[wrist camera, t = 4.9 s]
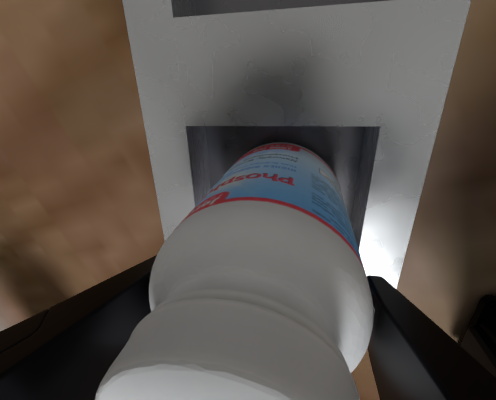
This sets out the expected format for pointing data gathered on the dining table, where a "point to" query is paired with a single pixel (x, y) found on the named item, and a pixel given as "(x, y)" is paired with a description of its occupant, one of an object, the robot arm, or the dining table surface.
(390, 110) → the white compartment tray
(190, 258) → the pill bottle
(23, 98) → the dining table surface
